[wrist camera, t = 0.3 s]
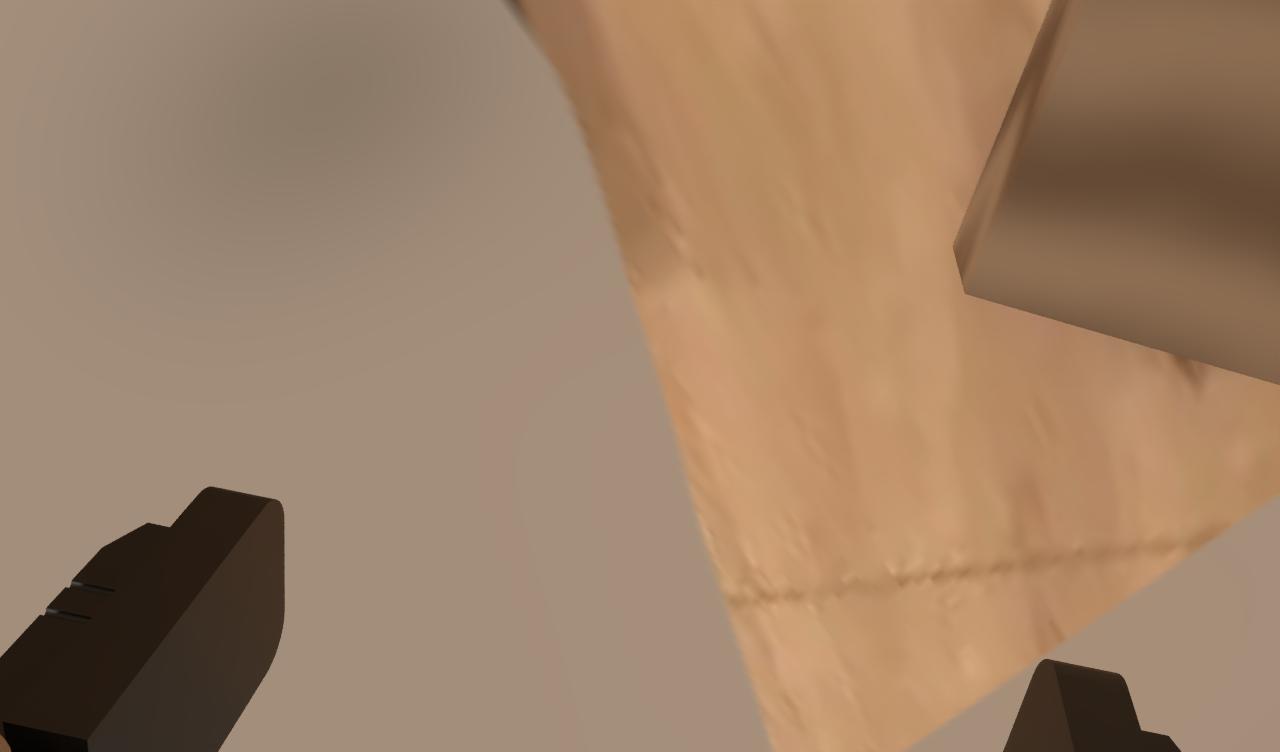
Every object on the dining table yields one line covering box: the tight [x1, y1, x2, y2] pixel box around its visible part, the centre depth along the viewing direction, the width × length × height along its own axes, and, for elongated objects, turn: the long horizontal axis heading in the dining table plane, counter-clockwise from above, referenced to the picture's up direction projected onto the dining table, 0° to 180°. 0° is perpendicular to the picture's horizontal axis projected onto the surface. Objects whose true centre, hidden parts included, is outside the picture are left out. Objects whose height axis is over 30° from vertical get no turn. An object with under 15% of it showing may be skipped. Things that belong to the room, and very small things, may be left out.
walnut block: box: [953, 0, 1280, 385], centre depth 35 cm, size 10×10×4 cm
